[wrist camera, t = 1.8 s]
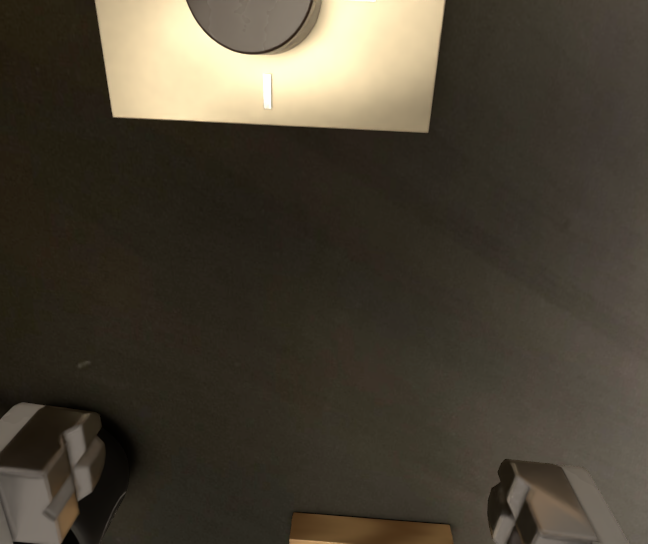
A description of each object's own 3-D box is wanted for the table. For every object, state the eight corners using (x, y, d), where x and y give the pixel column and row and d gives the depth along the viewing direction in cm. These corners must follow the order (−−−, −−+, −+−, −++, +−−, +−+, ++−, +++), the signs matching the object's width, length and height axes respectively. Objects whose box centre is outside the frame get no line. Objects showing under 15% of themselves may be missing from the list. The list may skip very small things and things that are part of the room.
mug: (163, 446, 33) (116, 541, 27) (104, 507, 36) (50, 605, 30) (9, 354, 30) (-84, 434, 24) (-39, 428, 33) (-133, 517, 27)
